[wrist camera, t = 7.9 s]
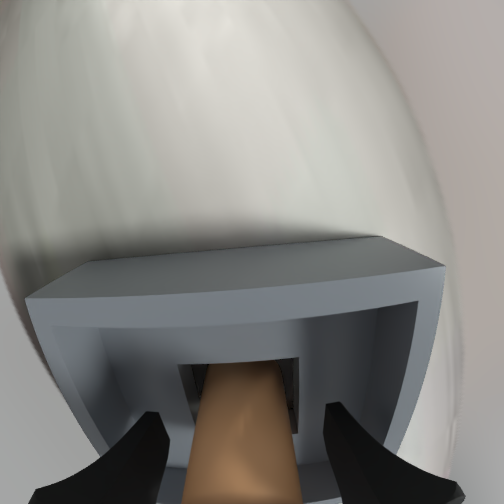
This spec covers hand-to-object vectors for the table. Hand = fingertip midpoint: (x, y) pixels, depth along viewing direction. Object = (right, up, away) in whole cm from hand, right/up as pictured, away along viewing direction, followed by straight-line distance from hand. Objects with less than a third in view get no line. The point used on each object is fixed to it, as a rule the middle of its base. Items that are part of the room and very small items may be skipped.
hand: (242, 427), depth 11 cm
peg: (0, +1, +3) cm, 3 cm away
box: (0, +1, +3) cm, 3 cm away
